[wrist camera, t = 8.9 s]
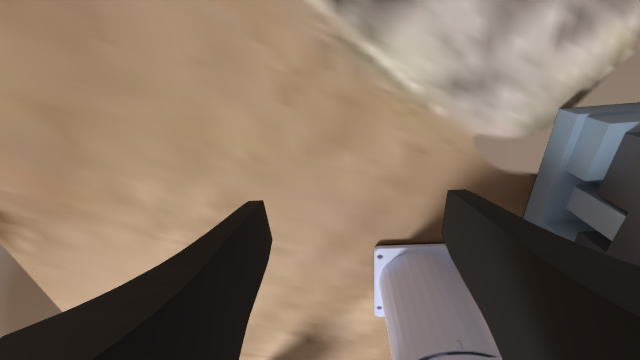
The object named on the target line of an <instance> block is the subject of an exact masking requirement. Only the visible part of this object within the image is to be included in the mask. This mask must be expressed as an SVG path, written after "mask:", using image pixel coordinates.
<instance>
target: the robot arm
mask: <svg viewBox="0 0 640 360" xmlns="http://www.w3.org/2000/svg"><path fill="white" fill-rule="evenodd" d="M441 234H442V236H443V239H444V242H445V244H417V245H389V246H377V247H375V249H374V314H375V315H376V316H377V317H385V321H386V326H387V332H388V338H389V343H390V349H391V355H392V360H640V266H637V265H634V264H631V263H628V262H625V261H622V260H620V259H617V258H614V257H611V256H609V255H606V254H603V253H601V252H598V251H596V250H593V249H591V248H588V247H586V246H583V245H581V244H578V243H576V242H573V241H571V240H569V239H566V238H564V237H562V236H559V235H557V234H555V233H553V232H550V231H548V230H546V229H544V228H542V227H540V226H537V225H535V224H533V223H531V222H529V221H527V220H525V219H523V218H521V217H519V216H517V215H515V214H513V213H511V212H509V211H507V210H505V209H503V208H501V207H500V206H498V205H496V204H494V203H492V202H490V201H488V200H486V199H484V198H482V197H480V196H478V195H476V194H474V193H472V192H470V191H467V190H465V189H464V190H448V193H447V199H446V206H445V212H444V219H443V225H442V231H441ZM271 245H272V236H271V232H270V227H269V223H268V219H267V215H266V211H265V206H264V202H263V200H261V201H248V202H247V203H245V204H244V205H242V206H241V207H240V208H238V209H237V210H236V211H234V212H233V213H232V214H231V215H229V216H228V217H227V218H226V219H224V220H223V221H222V222H220V223H219V224H218V225H217V226H215V227H214V228H213V229H211V230H210V231H209V232H207V233H206V234H205V235H203V236H202V237H200V238H199V239H198V240H196V241H195V242H194V243H192V244H191V245H189V246H188V247H186V248H185V249H183V250H182V251H180V252H179V253H177V254H176V255H174V256H173V257H171V258H169V259H168V260H166V261H164V262H163V263H161V264H160V265H158V266H156V267H154V268H153V269H151V270H149V271H147V272H145V273H143V274H141V275H140V276H138V277H136V278H134V279H132V280H130V281H128V282H127V283H125V284H123V285H121V286H119V287H117V288H115V289H113V290H111V291H109V292H107V293H105V294H102V295H100V296H98V297H96V298H94V299H92V300H89V301H87V302H85V303H83V304H81V305H78V306H76V307H74V308H72V309H69V310H67V311H65V312H62V313H60V314H57V315H55V316H53V317H50V318H48V319H45V320H43V321H40V322H38V323H35V324H33V325H30V326H28V327H25V328H23V329H20V330H18V331H15V332H13V333H10V334H7V335H5V336H3V337H1V338H0V360H239V357H240V352H241V348H242V344H243V340H244V335H245V331H246V327H247V323H248V320H249V317H250V313H251V311H252V308H253V305H254V302H255V299H256V296H257V293H258V290H259V287H260V284H261V282H262V279H263V276H264V273H265V270H266V267H267V264H268V260H269V255H270V250H271ZM378 255H381V256H378Z"/></svg>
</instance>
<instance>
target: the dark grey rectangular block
mask: <svg viewBox="0 0 640 360" xmlns="http://www.w3.org/2000/svg"><path fill="white" fill-rule="evenodd" d="M597 195H599V196H600V197H602V198H604V199H606V200H607V201H609V202H611V203H613V204H614V205H616V206H618V207H620V208H621V209H623V210H625V211H627V212H628V214H627V216H626V218H625V219H624V221H623V223H622V225H621V227H620V228H619V230H618V232H617V234H616V235H615V237H614V239H613V241H611V240H610V239H608V238H607V237H606V236H604V235H603V234H601V233H600V232H598V231H581V232H578V234H577V236H576V238H575V241H574V242H576V243H578V244H581V245H583V246H586V247H588V248H591V249H593V250H596V251H598V252H601V253H603V254H606V255H609V256H611V257H614V258H617V259H620V260H622V261H625V262H628V263H631V264H634V265H637V266H640V132H633V133H625V134H624V137H623V139H622V141H621V143H620V145H619V147H618V149H617V151H616V153H615V156H614V158H613V160H612V162H611V164H610V166H609V168H608V170H607V173H606V175H605V177H604V179H603V181H602V183H601V185H600V187H599V190H598V192H597Z"/></svg>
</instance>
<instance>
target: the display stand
mask: <svg viewBox="0 0 640 360" xmlns="http://www.w3.org/2000/svg"><path fill="white" fill-rule="evenodd" d="M633 132H640V103H628V104H615V105H602V106H591V107H577V108H565V109H559V111H558V114H557V117H556V120H555V123H554V126H553V129H552V133H551V135H550V139H549V141H548V144H547V148H546V150H545V154H544V157H543V160H542V163H541V166H540V169H539V172H538V175H537V178H536V181H535V184H534V187H533V190H532V193H531V196H530V199H529V202H528V205H527V208H526V211H525V214H524V217H523V219H525V220H527V221H529V222H531V223H533V224H535V225H537V226H540V227H542V228H544V229H546V230H548V231H550V232H553V233H555V234H557V235H559V236H562V237H564V238H566V239H569V240H571V241H573V242H574V241H575V238H576V236H577V234H578V232H581V231H598V232H600V233H601V234H603V235H604V236H606V237H607V238H608V239H610V240H611V241H613V239H614V237H615V235H616V234H617V232H618V230H619V228H620V227H621V225H622V223H623V221H624V219H625V218H626V216H627V214H628V212H627V211H625V210H623V209H621V208H620V207H618V206H616V205H614V204H613V203H611V202H609V201H607V200H606V199H604V198H602V197H600V196H599V195H597V192H598V190H599V187H600V185H601V183H602V181H603V179H604V177H605V175H606V173H607V170H608V168H609V166H610V164H611V162H612V160H613V158H614V156H615V153H616V151H617V149H618V147H619V145H620V143H621V141H622V139H623V137H624V134H625V133H633Z"/></svg>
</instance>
